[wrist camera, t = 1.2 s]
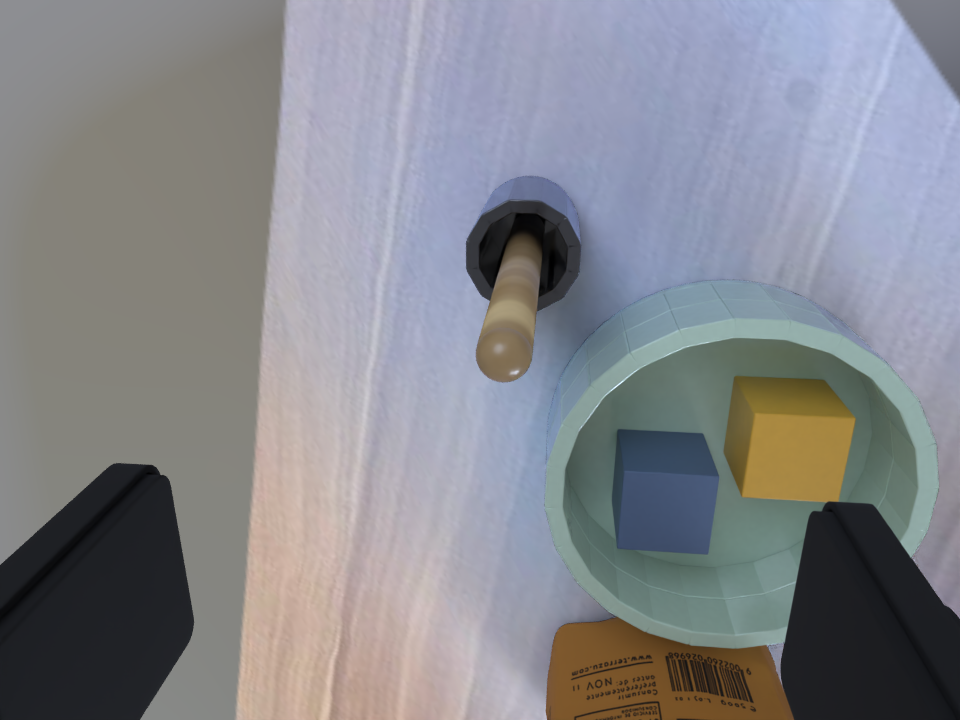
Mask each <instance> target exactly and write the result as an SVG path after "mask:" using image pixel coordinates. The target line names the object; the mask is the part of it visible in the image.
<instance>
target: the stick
mask: <svg viewBox="0 0 960 720" xmlns="http://www.w3.org/2000/svg"><path fill="white" fill-rule="evenodd" d="M544 232H545V228H544V224H543V222H542V220H541V219H540V218H539V217H538V216H537V215H535V214H522V215H520V216H519V217H517V218H516V219H515V221H514V222H513V225H512V228H511V232H510V235H509V238H508V242H507V245H506V249H505V252H504V255H503V259H502V262H501V266H500V269H499V272H498V276H497V279H496V283H495V286H494V289H493V293H492V296H491V300H490V303H489V306H488V310H487V313H486V317H485V320H484V323H483V327H482V330H481V334H480V337H479V340H478V344H477V348H476V361H477V364H478V366H479V368H480V370H481V371H482V372H483V374H484V375H485V376H487V377H488V378H490V379H491V380H494V381H497V382H502V383H503V382H511V381H514V380H517V379H518V378H520V377H521V376H523V375H524V374H525V372H526V371H527V370H528V368H529V366H530V364H531V361H532V353H533V343H534V333H535V323H536V313H537V302H538V292H539V282H540V272H541V262H542V252H543V242H544Z"/></svg>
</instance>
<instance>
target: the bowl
mask: <svg viewBox="0 0 960 720" xmlns="http://www.w3.org/2000/svg"><path fill="white" fill-rule="evenodd" d="M735 376H750V377H772V378H795V379H817V380H825V381H826V382H827V383H828V385H829V386H830V387H831V388H832V390H833V391H834V392H835V393H836V394H837V396H838V397H839V398H840V399H841V401H842V402H843V403H844V404H845V406H846V407H847V408H848V409H849V410H850V412H851V413H852V414H853V415H854V417H855V418H856V422H855V426H854V431H853V436H852V440H851V445H850V450H849V455H848V459H847V464H846V469H845V473H844V478H843V483H842V487H841V492H840V497H839V501H838V502H852V503H869V504H873V505H874V506H875V507H876V508H877V510H878V511H879V513H880V514H881V515H882V517H883V518H884V520H885V521H886V523H887V524H888V525H889V527H890V528H891V530H892V531H893V533H894V534H895V535H896V537H897V538H898V540H899V541H900V543H901V544H902V545H903V547H904V548H905V550H906V551H907V553H908V554H909V556H910V557H911V558H912V556H913V554H914V553H915V551H916V550H917V548H918V546H919V545H920V543H921V541H922V540H923V538H924V537H925V535H926V533H927V531H928V528H929V524H930V520H931V517H932V513H933V509H934V505H935V502H936V498H937V494H938V491H939V478H938V460H937V444H936V440H935V438H934V435H933V433H932V431H931V428H930V426H929V423H928V421H927V418H926V416H925V413H924V411H923V408H922V406H921V404H920V401H919V399H918V398H917V397H916V396H915V394H914V393H913V392H912V391H911V390H910V389H909V387H908V386H907V385H906V384H905V383H904V382H903V380H902V379H901V378H900V377H899V376H898V375H897V374H896V372H895V371H894V370H893V369H892V368H891V367H890V365H889V364H888V363H887V362H886V361H885V360H883V359H882V358H881V357H880V356H879V355H878V354H877V353H876V352H875V351H874V350H873V349H872V348H871V347H870V346H869V345H868V344H866V343H865V342H864V341H863V340H862V339H861V338H860V337H859V336H858V335H857V334H856V333H855V332H854V331H853V330H852V329H850V328H849V327H848V326H847V325H846V324H845V323H844V322H843V321H841V320H840V319H838V318H836V317H835V316H833V315H832V314H831V313H829V312H828V311H827V310H825V309H824V308H823V307H821V306H820V305H818V304H816V303H814V302H812V301H810V300H809V299H807V298H805V297H803V296H801V295H799V294H796V293H793V292H790V291H788V290H785V289H782V288H780V287H776V286H771V285H767V284H762V283H758V282H750V281H740V280H709V281H702V282H695V283H689V284H684V285H680V286H676V287H673V288H669V289H666V290H662V291H660V292H657V293H655V294H652V295H650V296H647V297H645V298H643V299H640V300H639V301H637V302H635V303H633V304H631V305H630V306H628V307H626V308H624V309H623V310H621V311H619V312H618V313H617V314H615V315H614V316H613V317H611V318H610V319H609V320H607V321H606V322H604V323H603V324H602V325H601V326H600V327H599V328H598V329H597V330H596V331H595V332H594V333H593V334H591V335H590V336H589V337H588V338H587V339H586V341H585V342H584V343H583V344H582V346H581V347H580V348H579V349H578V350H577V352H576V353H575V354H574V355H573V357H572V359H571V360H570V362H569V364H568V365H567V367H566V369H565V370H564V372H563V374H562V376H561V378H560V381H559V383H558V385H557V388H556V390H555V393H554V396H553V400H552V404H551V408H550V412H549V417H548V429H547V452H546V478H545V504H544V506H545V512H546V515H547V519H548V523H549V527H550V531H551V534H552V538H553V542H554V545H555V547H556V550H557V552H558V553H559V555H560V556H561V558H562V560H563V561H564V563H565V565H566V566H567V568H568V569H569V571H570V573H571V574H572V576H573V578H574V579H575V581H576V582H577V584H578V585H579V586H581V587H582V588H583V589H584V590H585V591H586V592H587V593H588V594H589V595H590V596H591V597H592V598H593V599H594V600H596V601H597V602H598V603H599V604H600V605H601V606H602V607H603V608H604V609H605V610H606V611H608V612H609V613H611V614H613V615H615V616H616V617H618V618H620V619H622V620H624V621H626V622H627V623H629V624H631V625H633V626H635V627H636V628H638V629H640V630H642V631H644V632H647V633H649V634H653V635H656V636H659V637H663V638H666V639H670V640H673V641H677V642H680V643H684V644H687V645H688V644H689V645H691V646H704V647H717V648H730V649H735V648H736V649H739V648H747V647H755V646H763V645H771V644H779V643H782V642H783V643H785V637H786V632H787V627H788V622H789V617H790V611H791V606H792V601H793V596H794V590H795V585H796V580H797V575H798V570H799V564H800V559H801V554H802V549H803V543H804V538H805V533H806V528H807V523H808V519H809V515H810V514H811V512H813V511H822V509H823V507H824V505H825V503H827V502H812V501H795V500H778V499H761V498H744V497H741V494H740V492H739V489H738V487H737V484H736V482H735V479H734V477H733V475H732V472H731V470H730V467H729V465H728V462H727V460H726V457H725V455H724V452H723V451H724V444H725V437H726V430H727V423H728V416H729V409H730V402H731V395H732V388H733V381H734V377H735ZM618 429H628V430H647V431H667V432H686V433H703V434H704V437H705V440H706V442H707V445H708V448H709V450H710V453H711V455H712V458H713V461H714V463H715V466H716V469H717V471H718V474H719V484H718V491H717V498H716V505H715V512H714V519H713V526H712V533H711V540H710V547H709V554H708V555H704V554H688V553H673V552H658V551H642V550H627V549H617V544H616V535H615V526H614V517H613V508H612V490H613V478H614V466H615V454H616V442H617V430H618Z"/></svg>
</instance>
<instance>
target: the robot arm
mask: <svg viewBox="0 0 960 720" xmlns="http://www.w3.org/2000/svg"><path fill="white" fill-rule="evenodd" d="M193 626H194V617H193V611H192V605H191V599H190V593H189V588H188V582H187V577H186V571H185V565H184V559H183V553H182V548H181V542H180V536H179V531H178V525H177V519H176V513H175V508H174V502H173V496H172V490H171V485H170V481H169V479H168V478H167V477H166V476H164V475H160V473H159V471H158V469H157V468H156V467H154V466H153V465H141V464H140V465H139V464H121V463H116V464H113V465H111V466H109V467H108V468H107V469H106V470H105V471H104V472H103V473H102V474H100V475H99V476H98V477H97V478H96V479H95V480H94V481H93V482H91V484H89V485H88V486H87V487H86V488H85V489H84V490H83V491H82V492H80V493H79V494H78V495H77V496H76V497H75V498H74V499H73V500H72V501H70V502H69V503H68V504H67V505H66V506H65V507H64V508H63V509H62V510H61V511H59V512H58V513H57V514H56V515H55V516H54V517H53V518H52V519H51V520H50V521H48V522H47V523H46V524H45V525H44V526H43V527H42V528H41V529H40V530H39V531H37V532H36V533H35V534H34V535H33V536H32V537H31V538H30V539H29V540H28V541H26V542H25V543H24V544H23V545H22V546H21V547H20V548H19V549H18V550H16V551H15V552H14V553H13V554H12V555H11V556H10V557H9V558H8V559H6V560H5V561H4V562H3V563H2V564H1V565H0V720H140V719H141V717H142V715H143V714H144V712H145V710H146V709H147V708H148V706H149V704H150V703H151V701H152V700H153V698H154V696H155V695H156V694H157V692H158V690H159V689H160V687H161V686H162V684H163V682H164V681H165V679H166V678H167V676H168V675H169V673H170V672H171V670H172V668H173V667H174V665H175V664H176V662H177V661H178V659H179V657H180V656H181V654H182V653H183V651H184V650H185V648H186V646H187V644H188V643H189V641H190V638H191V636H192V632H193ZM781 680H782V685H783V689H784V692H785V695H786V698H787V701H788V703H789V706H790V709H791V712H792V715H793V718H794V720H960V619H959V617H958V616H957V615H956V614H955V613H954V612H953V611H952V610H951V609H950V608H949V607H947V606H945V605H944V604H943V603H942V601H941V600H940V599H939V597H938V596H937V594H936V593H935V591H934V590H933V589H932V587H931V586H930V584H929V583H928V581H927V580H926V578H925V577H924V576H923V574H922V573H921V571H920V570H919V568H918V567H917V566H916V564H915V563H914V561H913V560H912V558H911V557H910V556H909V554H908V553H907V551H906V550H905V548H904V547H903V545H902V544H901V543H900V541H899V540H898V538H897V537H896V535H895V534H894V533H893V531H892V530H891V528H890V527H889V525H888V524H887V523H886V521H885V520H884V518H883V517H882V515H881V514H880V513H879V511H878V510H877V508H876V507H875V506H874V505H873V504H869V503H852V502H833V501H828V502H827V503H825V505H824V507H823V509H822V511H813V512H811V514H810V515H809V519H808V523H807V528H806V533H805V538H804V543H803V549H802V554H801V559H800V564H799V570H798V575H797V580H796V585H795V590H794V596H793V601H792V606H791V611H790V617H789V622H788V627H787V632H786V637H785V643H784V648H783V653H782V658H781Z"/></svg>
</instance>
